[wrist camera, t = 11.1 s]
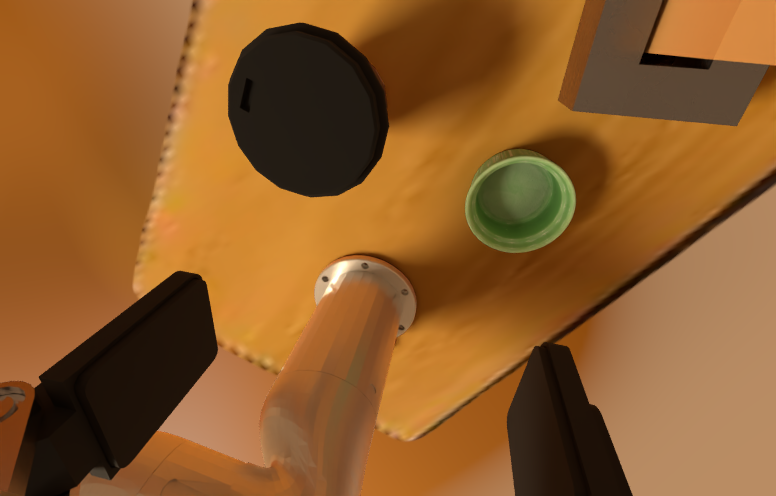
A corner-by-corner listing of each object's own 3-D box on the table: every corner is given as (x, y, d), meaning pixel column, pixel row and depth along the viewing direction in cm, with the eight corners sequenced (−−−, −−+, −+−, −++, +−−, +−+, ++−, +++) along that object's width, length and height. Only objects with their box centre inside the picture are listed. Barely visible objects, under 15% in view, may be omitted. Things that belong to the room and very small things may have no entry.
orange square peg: (693, -11, 25) (843, -42, 15) (665, 54, 27) (781, 66, 17) (647, -14, 26) (763, -46, 15) (623, 50, 28) (712, 59, 18)
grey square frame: (697, 112, 29) (736, 126, 25) (557, 100, 30) (572, 110, 26) (789, -82, 23) (862, -108, 19) (609, -86, 24) (639, -111, 20)
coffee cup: (281, 122, 36) (206, 157, 26) (316, 0, 30) (238, -18, 20) (380, 175, 36) (345, 229, 26) (433, 65, 31) (415, 80, 21)
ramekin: (453, 217, 37) (451, 237, 34) (484, 130, 33) (486, 142, 29) (538, 242, 37) (546, 265, 33) (583, 157, 32) (598, 173, 28)
